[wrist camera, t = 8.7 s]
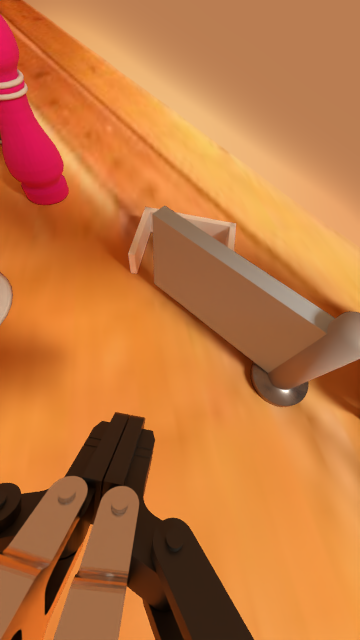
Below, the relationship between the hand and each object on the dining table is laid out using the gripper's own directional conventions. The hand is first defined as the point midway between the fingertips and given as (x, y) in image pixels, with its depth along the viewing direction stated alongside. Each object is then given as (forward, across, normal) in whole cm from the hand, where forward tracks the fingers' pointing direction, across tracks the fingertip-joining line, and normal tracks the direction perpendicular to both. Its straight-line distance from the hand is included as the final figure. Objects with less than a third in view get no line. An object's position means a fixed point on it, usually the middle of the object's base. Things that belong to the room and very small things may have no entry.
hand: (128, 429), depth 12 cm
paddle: (+17, -6, -1) cm, 18 cm away
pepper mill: (+30, +23, -14) cm, 40 cm away
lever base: (+14, -13, +3) cm, 20 cm away
